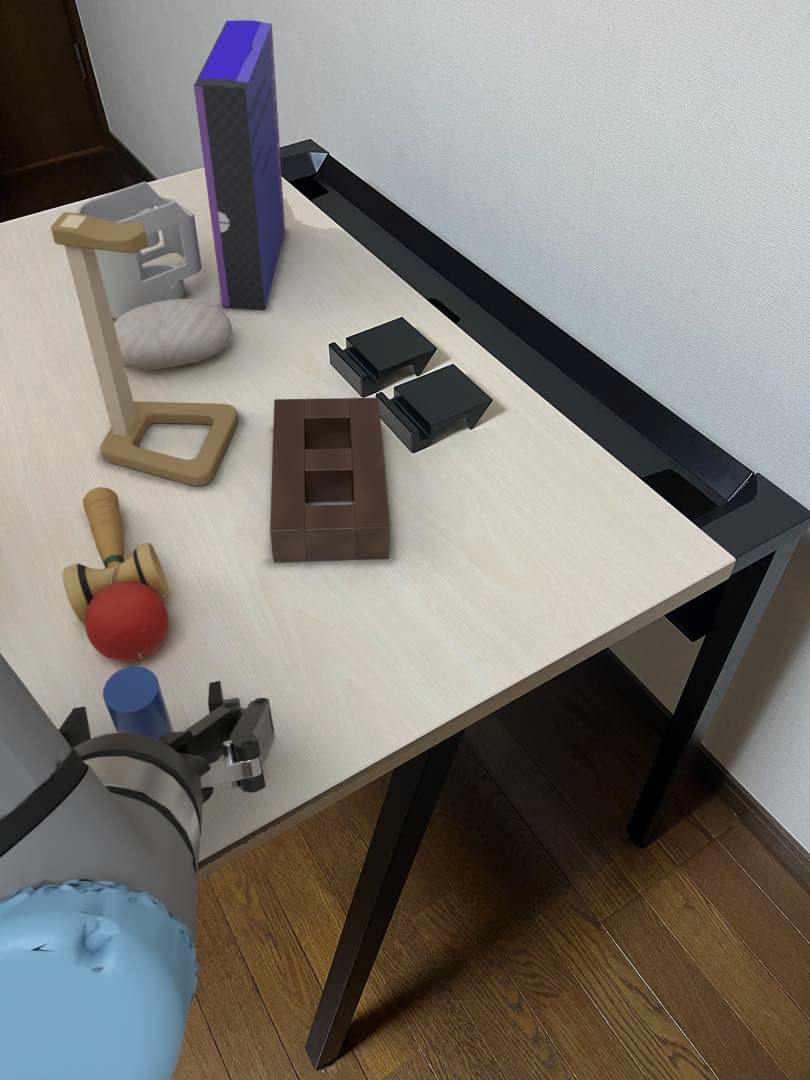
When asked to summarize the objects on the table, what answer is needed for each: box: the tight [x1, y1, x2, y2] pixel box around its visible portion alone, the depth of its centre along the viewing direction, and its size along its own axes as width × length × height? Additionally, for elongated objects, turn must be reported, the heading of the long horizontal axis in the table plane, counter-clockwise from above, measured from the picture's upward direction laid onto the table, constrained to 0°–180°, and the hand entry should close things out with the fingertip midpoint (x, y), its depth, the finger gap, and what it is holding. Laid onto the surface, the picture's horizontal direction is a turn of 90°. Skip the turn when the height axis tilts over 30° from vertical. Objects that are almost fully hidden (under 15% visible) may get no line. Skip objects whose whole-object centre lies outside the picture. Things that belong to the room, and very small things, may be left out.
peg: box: [102, 665, 175, 739], centre depth 56 cm, size 3×3×12 cm
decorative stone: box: [113, 298, 233, 370], centre depth 91 cm, size 13×9×5 cm
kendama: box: [62, 486, 170, 662], centre depth 70 cm, size 8×6×18 cm
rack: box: [269, 397, 391, 563], centre depth 78 cm, size 10×17×4 cm, turn 5°
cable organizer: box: [76, 181, 203, 321], centre depth 94 cm, size 7×12×12 cm, turn 134°
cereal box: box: [193, 19, 286, 311], centre depth 95 cm, size 17×5×24 cm, turn 178°
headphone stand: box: [50, 211, 239, 487], centre depth 75 cm, size 10×11×22 cm
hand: (151, 713), depth 60 cm, fingers open, 8 cm apart
